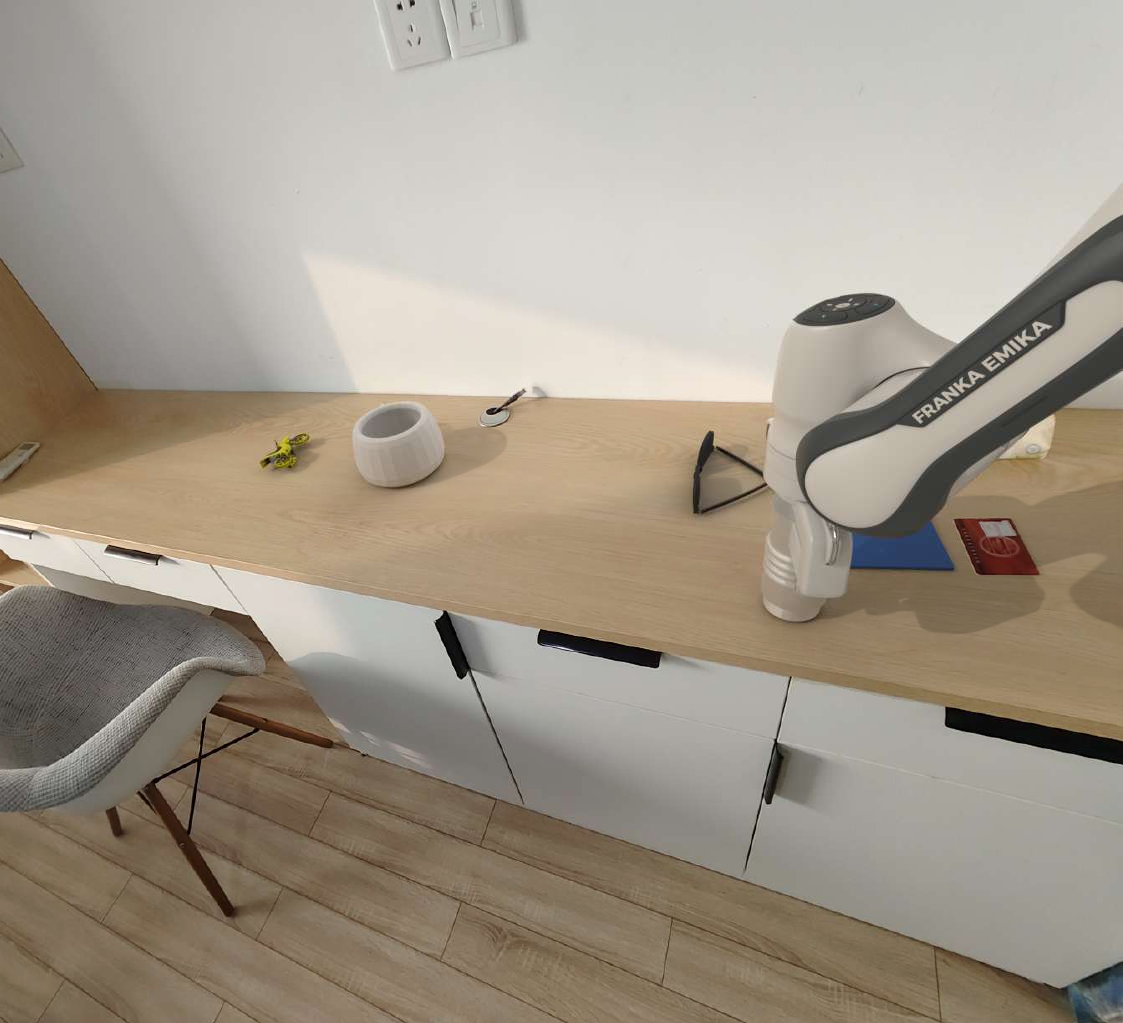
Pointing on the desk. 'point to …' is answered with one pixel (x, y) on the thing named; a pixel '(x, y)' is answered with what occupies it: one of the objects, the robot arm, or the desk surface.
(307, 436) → the toy motorcycle
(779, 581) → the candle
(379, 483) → the white plant pot
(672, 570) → the desk surface
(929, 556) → the cloth
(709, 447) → the sunglasses
